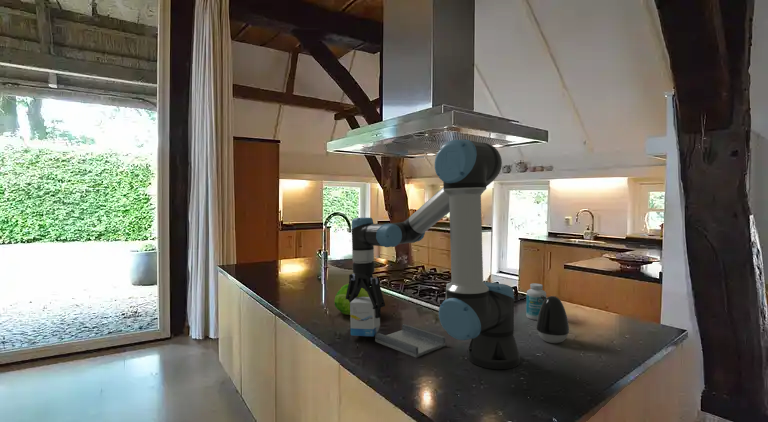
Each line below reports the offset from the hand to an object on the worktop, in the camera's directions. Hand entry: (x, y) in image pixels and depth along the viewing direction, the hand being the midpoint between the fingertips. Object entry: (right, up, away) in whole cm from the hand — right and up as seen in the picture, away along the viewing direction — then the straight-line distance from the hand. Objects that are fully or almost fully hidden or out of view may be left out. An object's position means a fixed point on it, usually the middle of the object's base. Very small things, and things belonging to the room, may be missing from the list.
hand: (365, 323), depth 144 cm
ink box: (0, -3, 0) cm, 3 cm away
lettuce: (-5, -4, +27) cm, 28 cm away
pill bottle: (+68, -4, +20) cm, 71 cm away
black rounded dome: (+64, -5, -5) cm, 64 cm away
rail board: (+15, -5, -7) cm, 17 cm away
